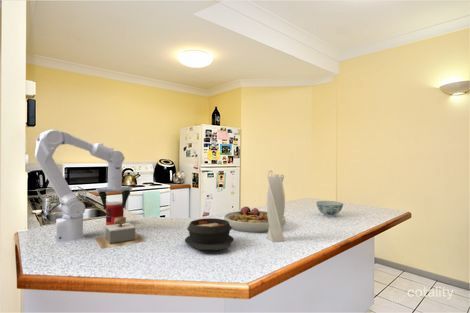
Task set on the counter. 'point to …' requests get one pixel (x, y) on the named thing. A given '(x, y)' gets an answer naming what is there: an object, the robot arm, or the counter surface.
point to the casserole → (209, 234)
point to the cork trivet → (104, 243)
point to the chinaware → (329, 208)
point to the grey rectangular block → (120, 233)
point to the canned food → (113, 212)
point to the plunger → (120, 221)
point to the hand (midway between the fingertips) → (114, 208)
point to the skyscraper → (275, 207)
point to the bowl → (249, 220)
